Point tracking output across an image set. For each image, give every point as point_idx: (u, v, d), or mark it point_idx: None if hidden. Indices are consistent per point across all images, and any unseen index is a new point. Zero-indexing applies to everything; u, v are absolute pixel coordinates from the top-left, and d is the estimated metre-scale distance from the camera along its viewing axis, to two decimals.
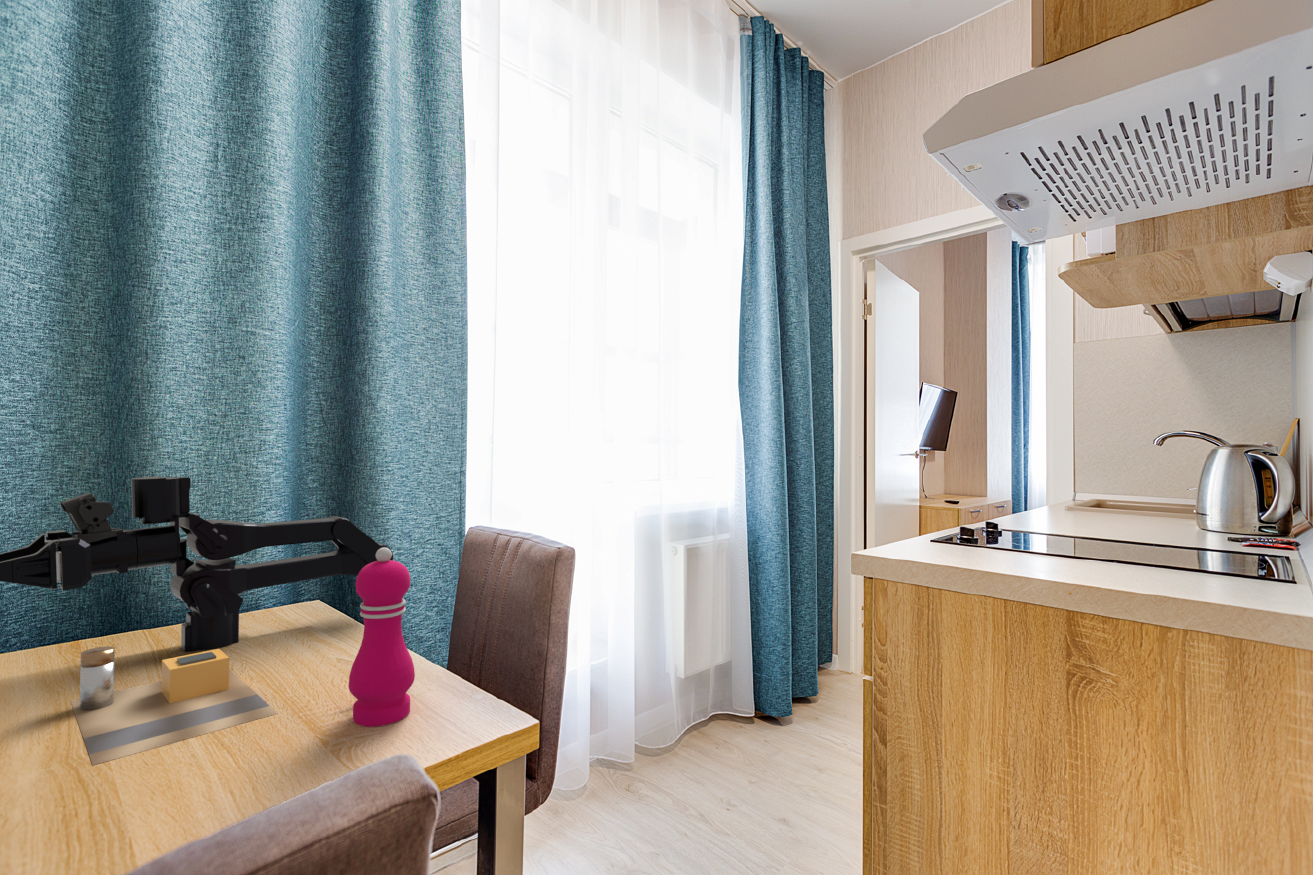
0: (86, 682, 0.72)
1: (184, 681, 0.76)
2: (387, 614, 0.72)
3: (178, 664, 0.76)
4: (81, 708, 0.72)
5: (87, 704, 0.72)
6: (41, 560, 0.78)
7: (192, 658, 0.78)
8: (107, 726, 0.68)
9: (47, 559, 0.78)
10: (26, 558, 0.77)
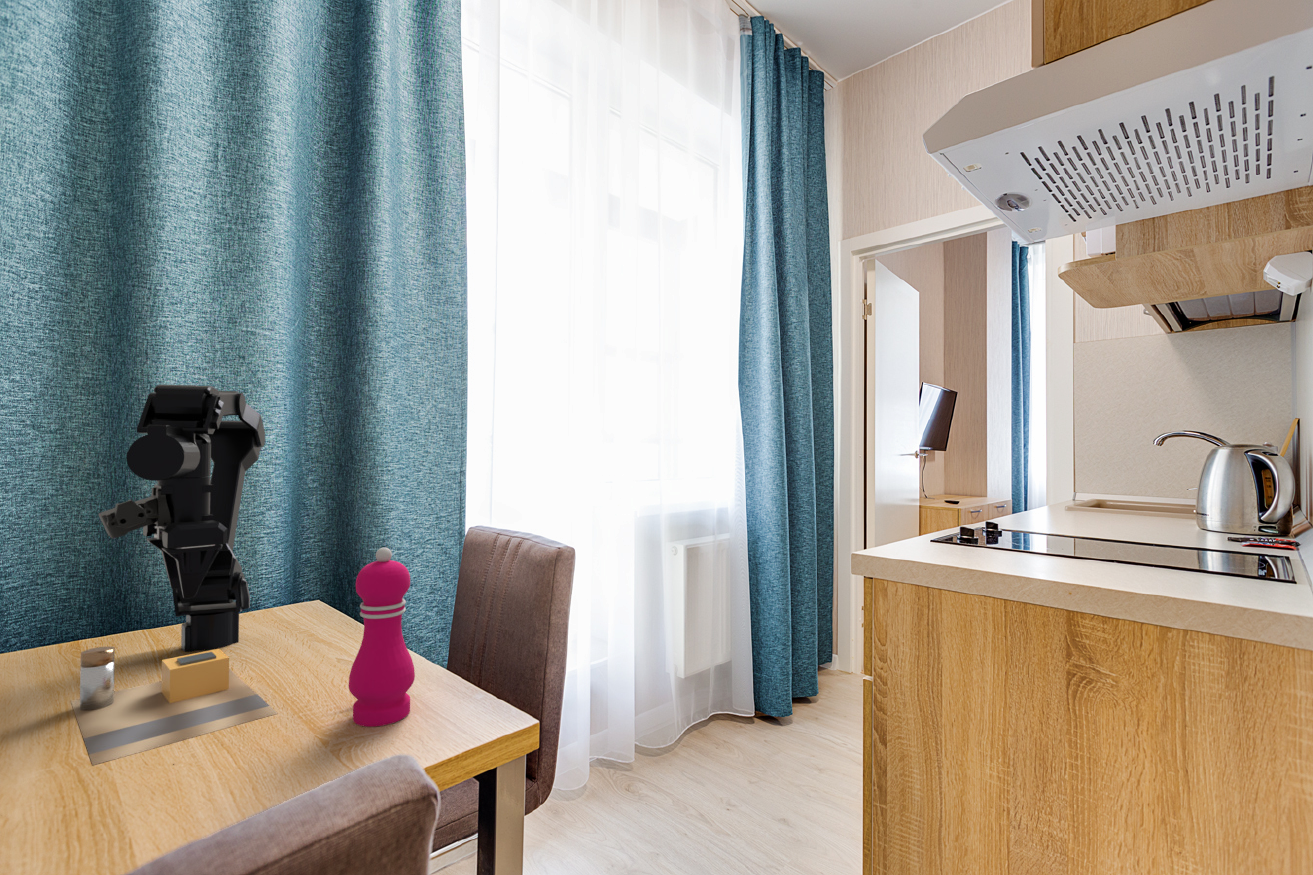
0: (86, 682, 0.72)
1: (184, 681, 0.76)
2: (387, 614, 0.72)
3: (178, 664, 0.76)
4: (81, 708, 0.72)
5: (87, 704, 0.72)
6: (185, 555, 0.80)
7: (192, 658, 0.78)
8: (107, 726, 0.68)
9: (185, 551, 0.79)
10: (180, 566, 0.79)
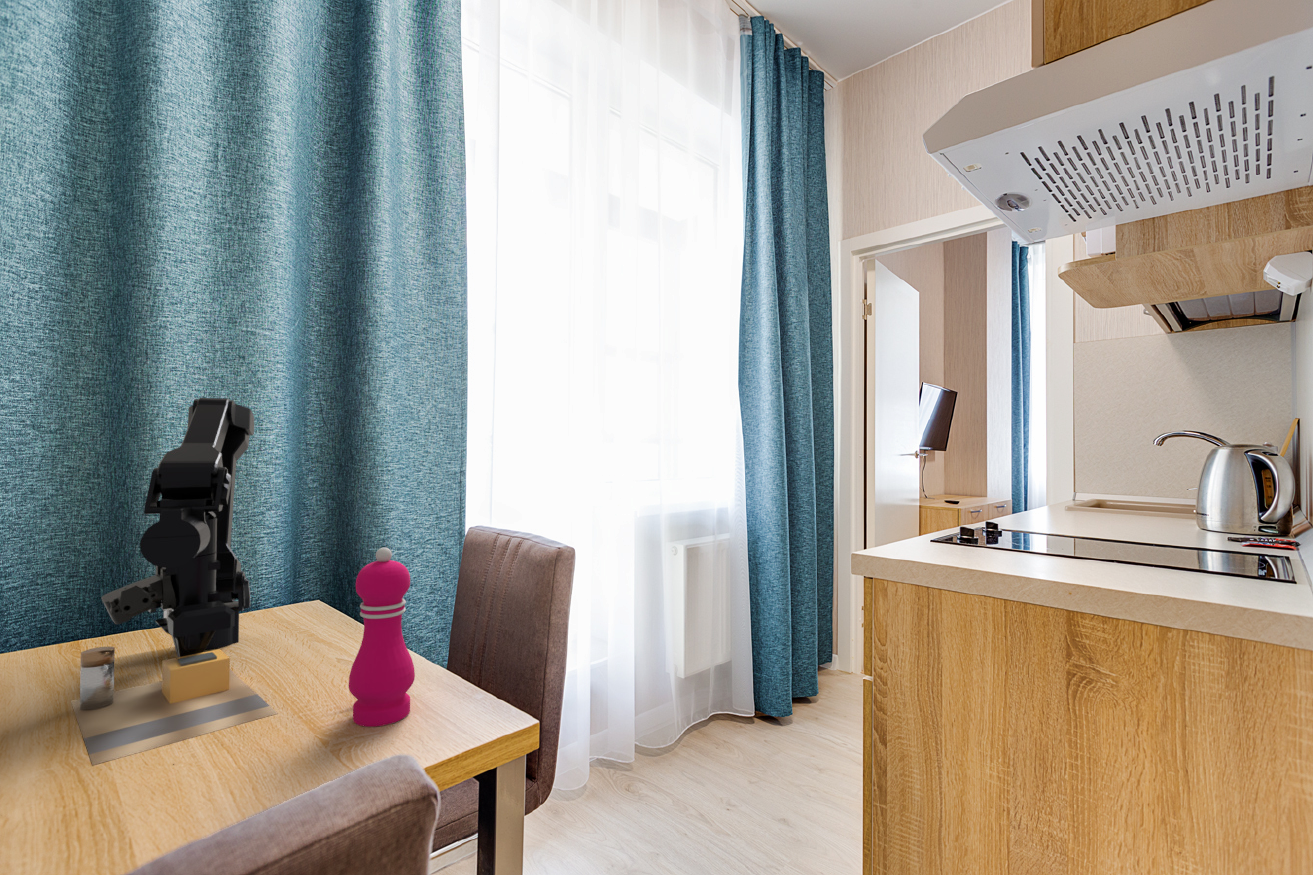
0: (86, 682, 0.72)
1: (185, 681, 0.75)
2: (387, 614, 0.72)
3: (179, 664, 0.76)
4: (81, 708, 0.72)
5: (87, 704, 0.72)
6: None
7: (193, 658, 0.78)
8: (107, 726, 0.68)
9: None
10: (180, 644, 0.79)
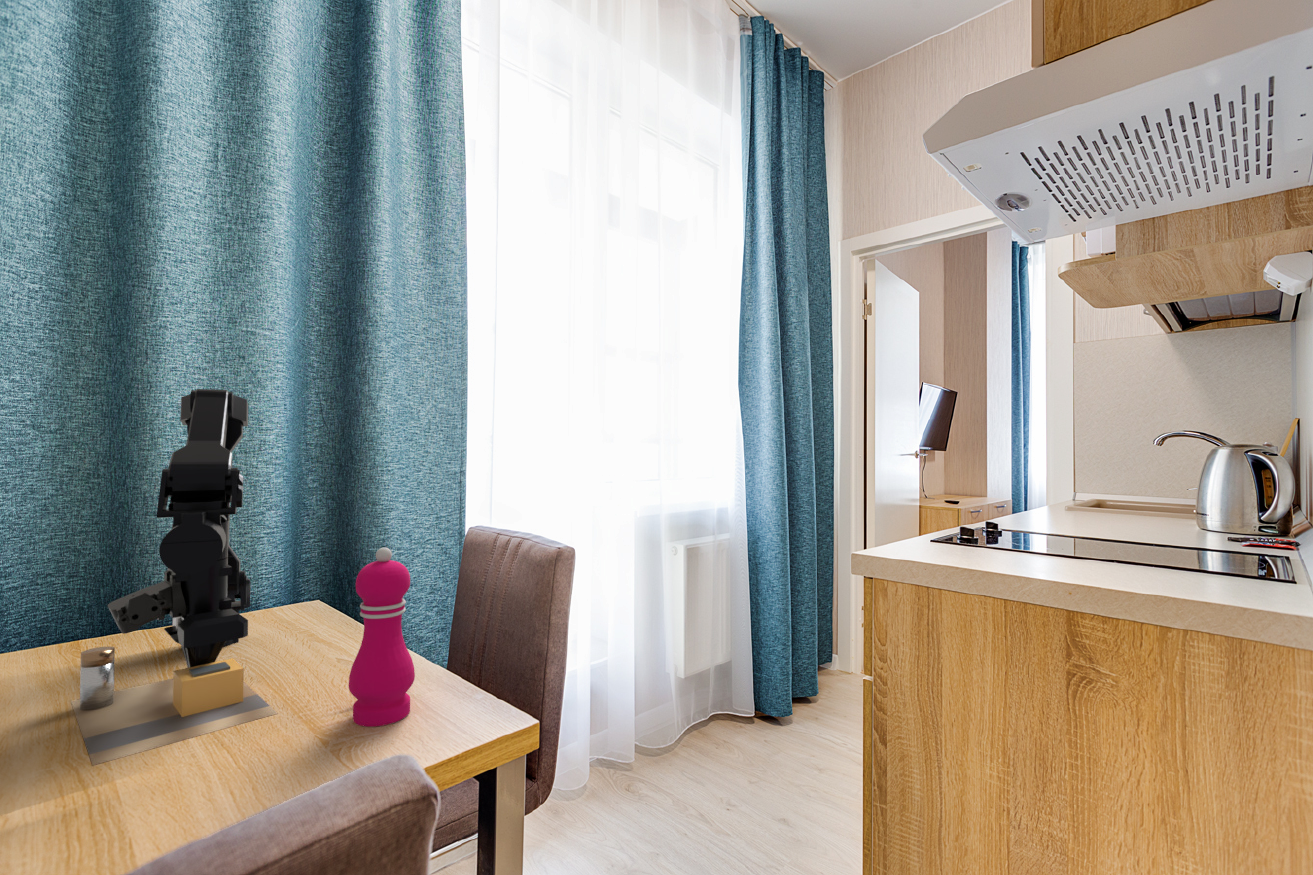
0: (86, 682, 0.72)
1: (197, 693, 0.72)
2: (387, 614, 0.72)
3: (190, 675, 0.73)
4: (81, 708, 0.72)
5: (87, 704, 0.72)
6: None
7: (205, 669, 0.74)
8: (107, 726, 0.68)
9: None
10: (190, 654, 0.75)
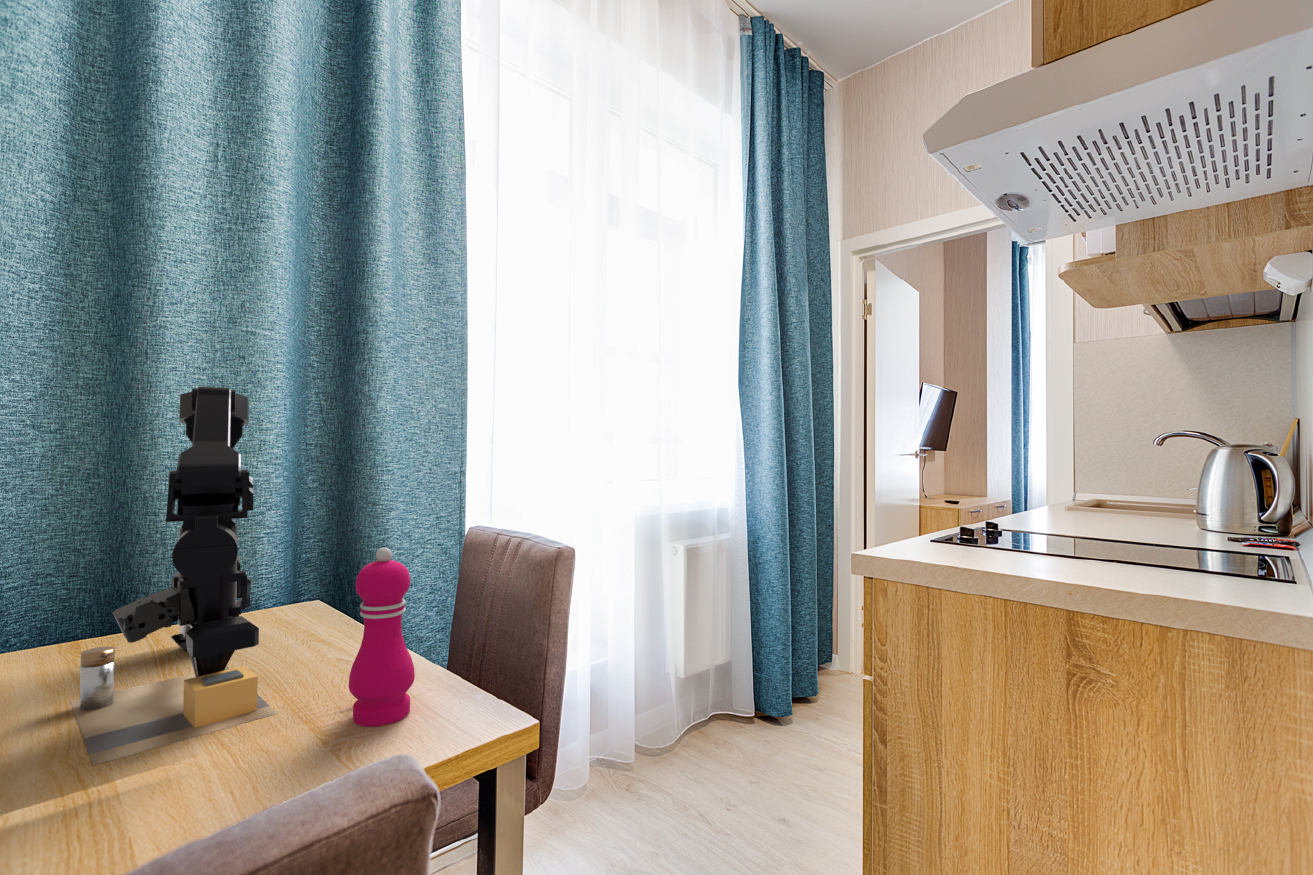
0: (86, 682, 0.72)
1: (210, 703, 0.69)
2: (387, 614, 0.72)
3: (203, 684, 0.70)
4: (81, 708, 0.72)
5: (87, 704, 0.72)
6: None
7: (218, 677, 0.71)
8: (107, 726, 0.68)
9: None
10: (198, 663, 0.73)
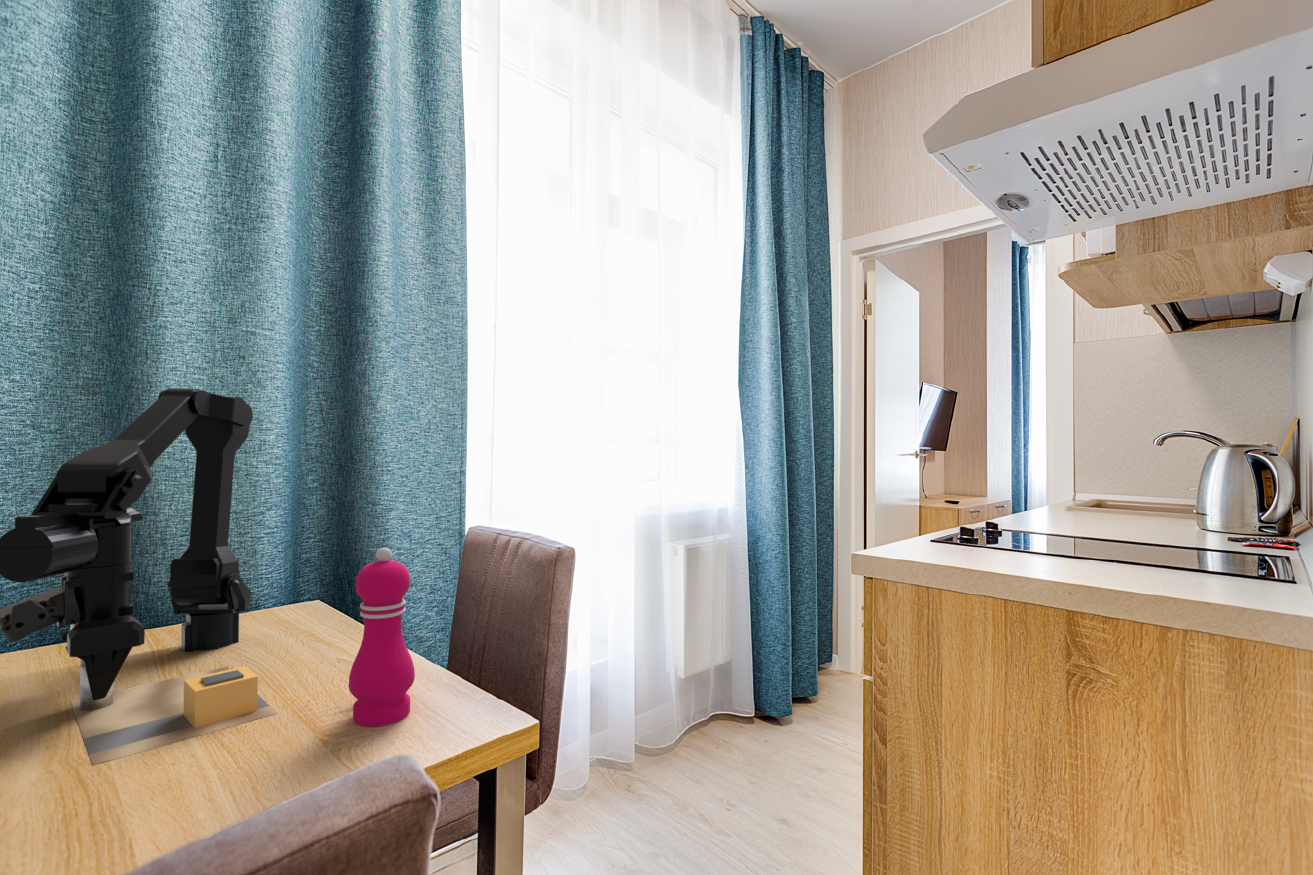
0: (86, 682, 0.72)
1: (210, 703, 0.69)
2: (387, 614, 0.72)
3: (203, 685, 0.70)
4: (81, 708, 0.72)
5: (87, 704, 0.72)
6: None
7: (218, 677, 0.71)
8: (107, 726, 0.68)
9: None
10: (87, 666, 0.71)
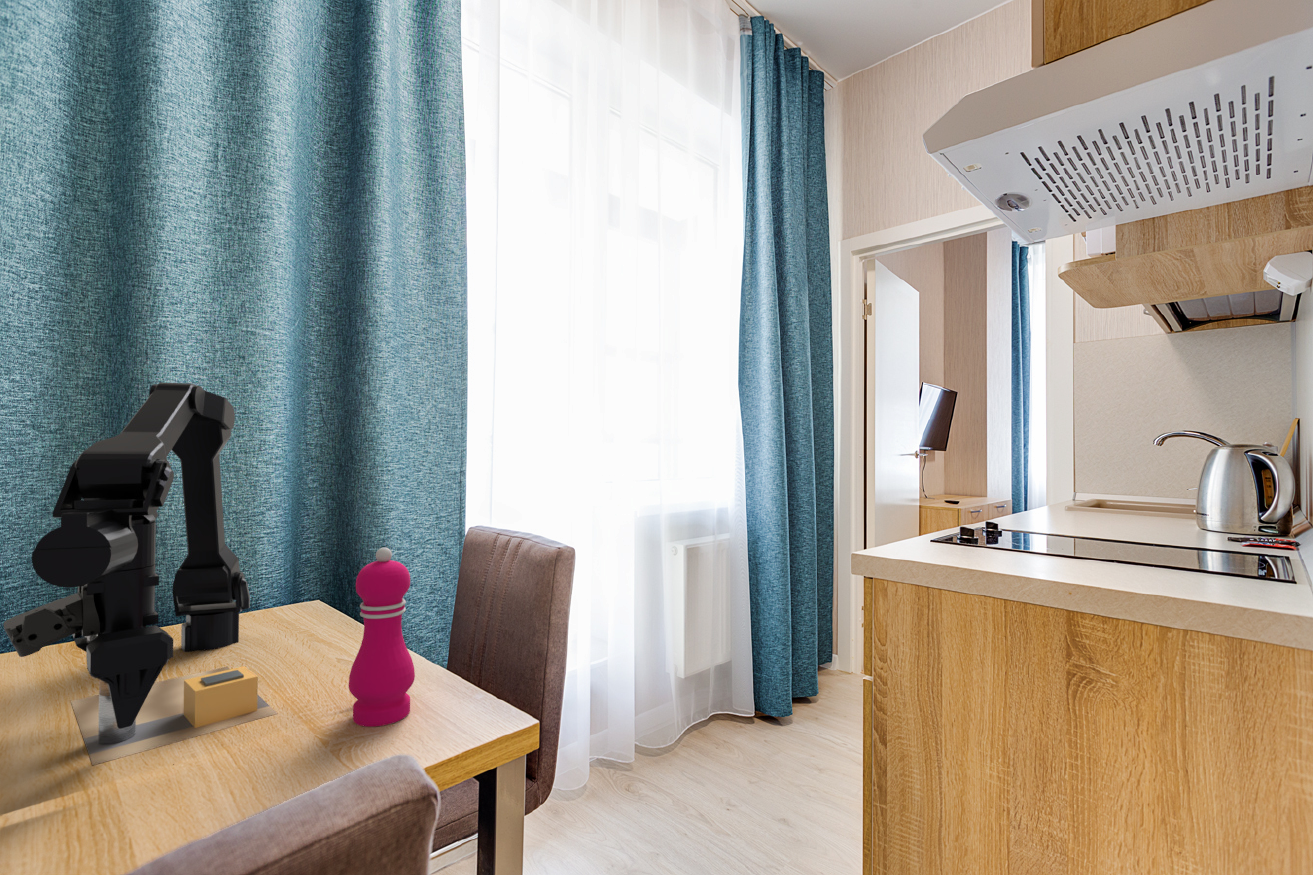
0: (105, 712, 0.64)
1: (210, 703, 0.69)
2: (387, 614, 0.72)
3: (203, 685, 0.70)
4: (100, 742, 0.64)
5: (106, 737, 0.64)
6: (119, 674, 0.62)
7: (218, 677, 0.71)
8: None
9: None
10: (112, 690, 0.61)
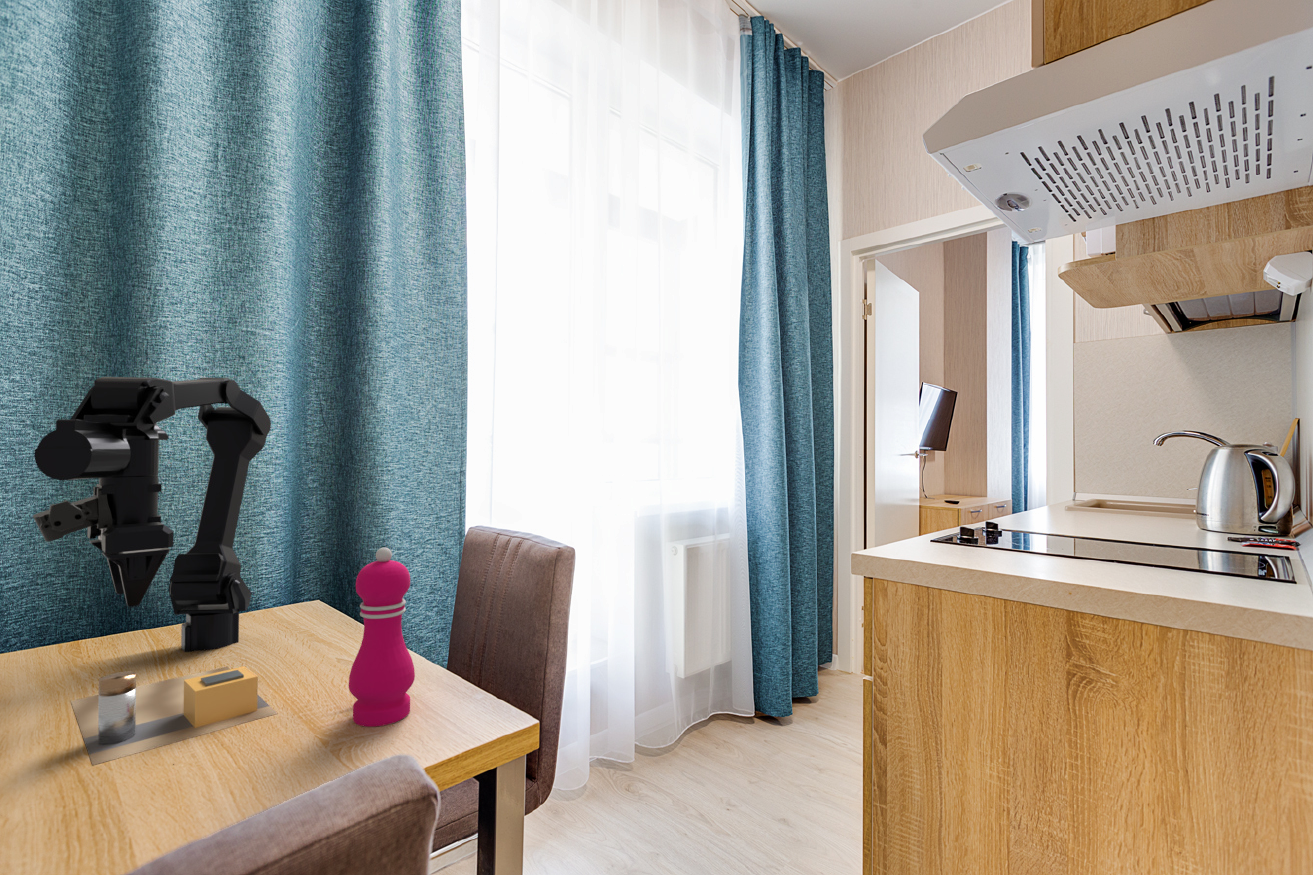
0: (105, 713, 0.64)
1: (210, 703, 0.69)
2: (387, 614, 0.72)
3: (203, 685, 0.70)
4: (100, 742, 0.64)
5: (106, 737, 0.64)
6: (129, 560, 0.74)
7: (218, 677, 0.71)
8: None
9: None
10: (123, 572, 0.73)
